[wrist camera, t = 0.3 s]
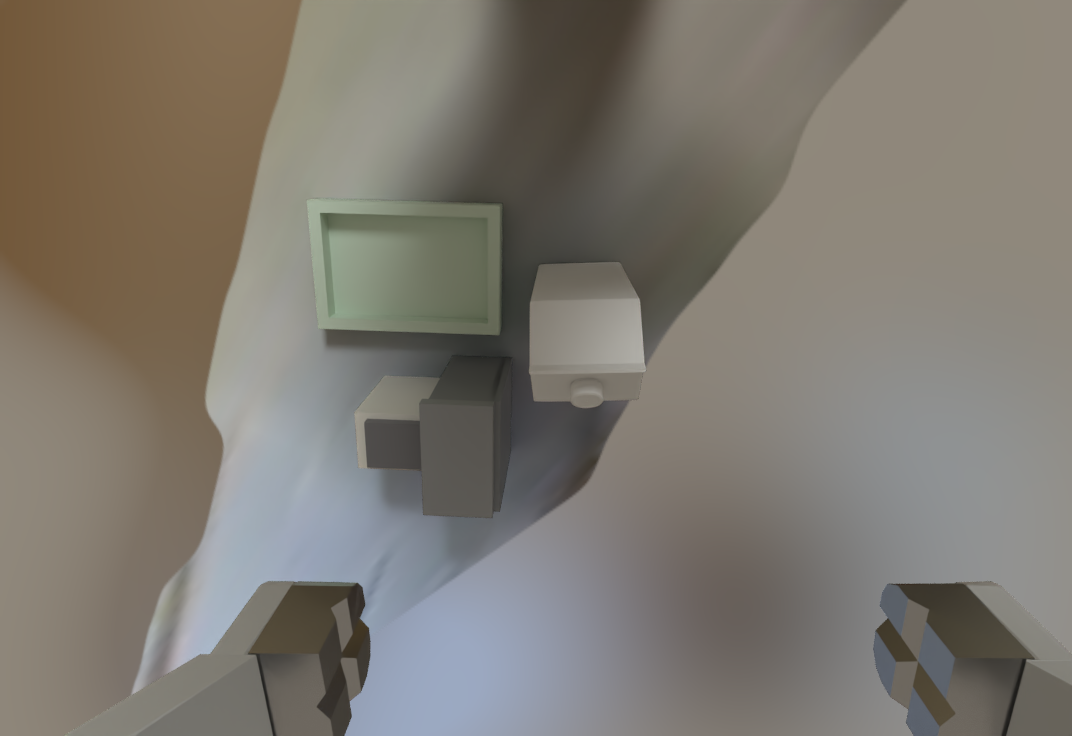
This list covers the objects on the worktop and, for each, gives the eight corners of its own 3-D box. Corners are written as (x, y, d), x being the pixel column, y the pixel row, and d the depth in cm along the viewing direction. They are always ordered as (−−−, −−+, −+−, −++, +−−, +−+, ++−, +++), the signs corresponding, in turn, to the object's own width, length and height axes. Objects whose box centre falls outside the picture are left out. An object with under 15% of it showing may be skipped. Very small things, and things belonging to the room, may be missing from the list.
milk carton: (538, 263, 55) (526, 315, 37) (620, 261, 54) (647, 312, 36) (541, 341, 57) (530, 426, 39) (619, 339, 57) (645, 424, 39)
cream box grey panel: (384, 375, 59) (351, 416, 50) (490, 379, 59) (476, 421, 49) (387, 424, 60) (355, 472, 51) (490, 428, 60) (477, 477, 51)
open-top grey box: (447, 355, 58) (419, 403, 47) (512, 357, 58) (499, 406, 46) (449, 448, 61) (423, 514, 50) (510, 450, 61) (498, 518, 49)
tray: (317, 198, 54) (306, 199, 52) (502, 203, 53) (500, 205, 51) (327, 322, 57) (318, 328, 55) (501, 328, 57) (499, 335, 55)
